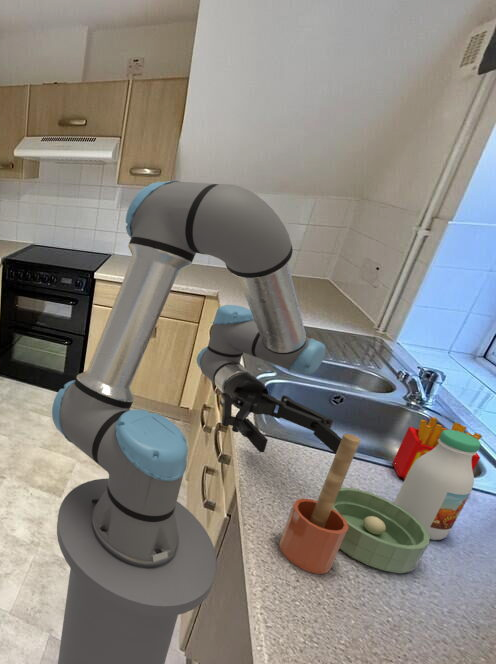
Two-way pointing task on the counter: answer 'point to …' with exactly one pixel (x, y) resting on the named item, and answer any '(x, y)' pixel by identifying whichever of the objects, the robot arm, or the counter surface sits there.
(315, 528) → the utensil cup
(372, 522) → the ball
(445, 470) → the milk bottle
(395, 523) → the bowl
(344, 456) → the stirring stick
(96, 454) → the robot arm
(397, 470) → the french fries container
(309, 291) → the counter surface
